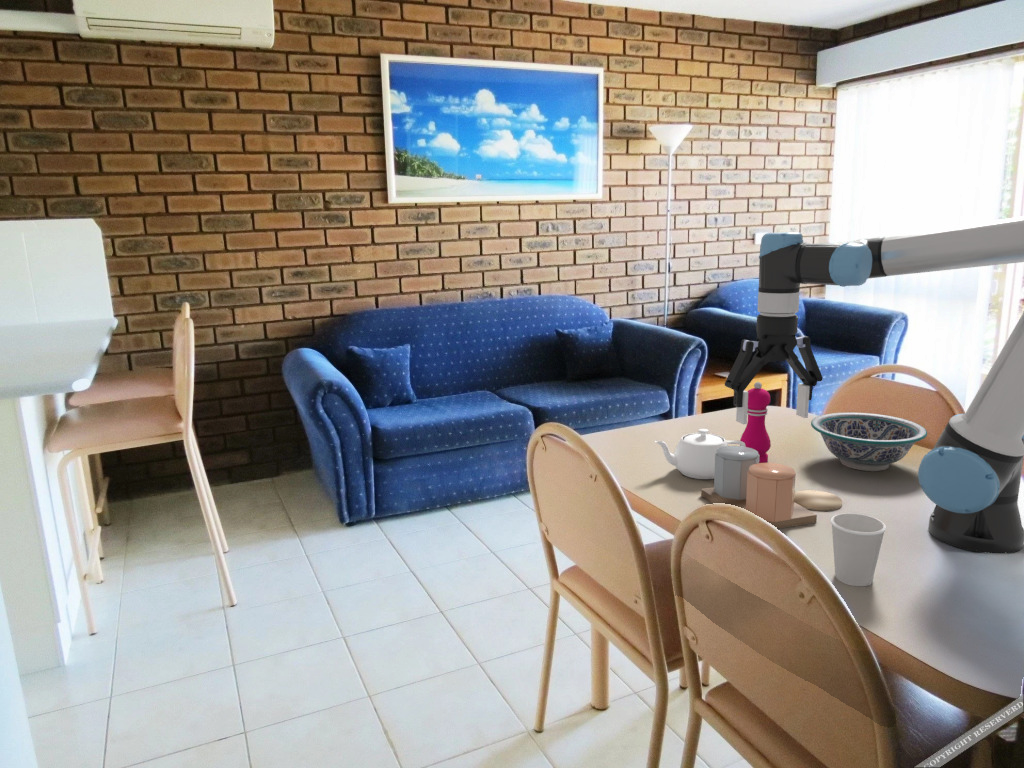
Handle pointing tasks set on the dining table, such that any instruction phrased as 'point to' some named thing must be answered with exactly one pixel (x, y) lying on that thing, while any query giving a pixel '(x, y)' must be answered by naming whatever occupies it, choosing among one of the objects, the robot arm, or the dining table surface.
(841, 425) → the bowl
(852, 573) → the dixie cup
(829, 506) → the coaster
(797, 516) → the board
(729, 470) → the grey faceted canister
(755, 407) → the pepper mill
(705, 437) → the teapot
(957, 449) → the robot arm
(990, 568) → the dining table surface
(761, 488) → the peach faceted canister
